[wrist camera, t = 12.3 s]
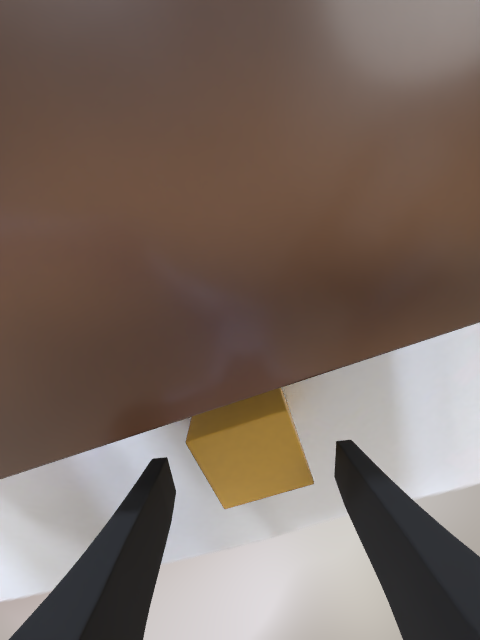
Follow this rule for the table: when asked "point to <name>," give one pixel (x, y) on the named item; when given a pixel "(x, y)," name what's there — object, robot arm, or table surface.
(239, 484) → the mustard block
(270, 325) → the box lid
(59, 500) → the table surface
